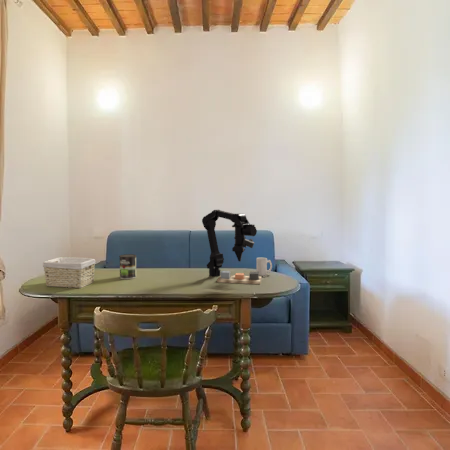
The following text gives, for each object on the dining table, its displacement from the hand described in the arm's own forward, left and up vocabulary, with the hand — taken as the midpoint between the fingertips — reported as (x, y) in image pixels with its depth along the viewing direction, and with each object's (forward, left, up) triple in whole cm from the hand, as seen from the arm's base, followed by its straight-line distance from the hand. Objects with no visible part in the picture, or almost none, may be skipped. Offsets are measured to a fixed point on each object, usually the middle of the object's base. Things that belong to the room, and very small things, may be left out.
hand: (239, 261), depth 191 cm
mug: (+14, +18, -13) cm, 26 cm away
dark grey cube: (+9, 0, -11) cm, 14 cm away
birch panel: (0, 0, -13) cm, 13 cm away
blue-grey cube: (-8, 0, -11) cm, 14 cm away
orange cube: (0, 0, -12) cm, 13 cm away
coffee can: (-71, +2, -13) cm, 73 cm away
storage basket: (-96, -20, -13) cm, 99 cm away
